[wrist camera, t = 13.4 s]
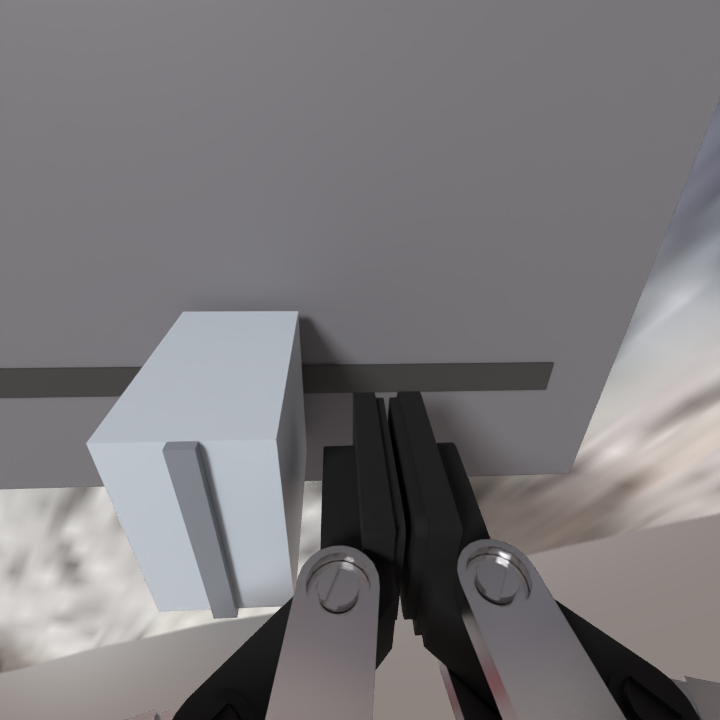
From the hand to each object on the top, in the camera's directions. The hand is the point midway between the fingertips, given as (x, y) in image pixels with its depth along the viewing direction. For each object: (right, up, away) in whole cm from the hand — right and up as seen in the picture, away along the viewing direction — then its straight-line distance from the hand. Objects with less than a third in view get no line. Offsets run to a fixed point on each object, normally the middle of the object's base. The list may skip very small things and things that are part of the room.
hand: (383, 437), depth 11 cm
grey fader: (-4, +1, +2) cm, 4 cm away
